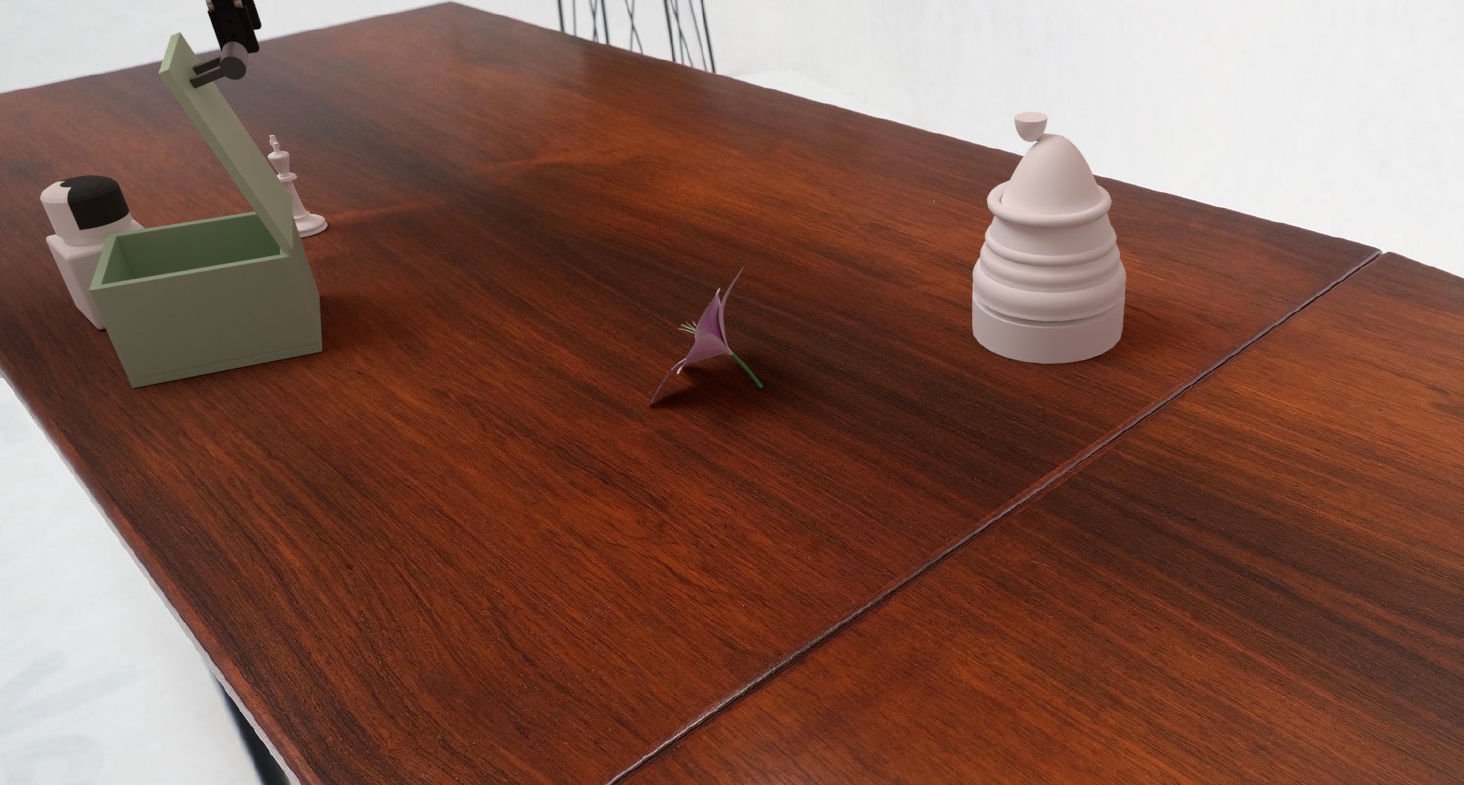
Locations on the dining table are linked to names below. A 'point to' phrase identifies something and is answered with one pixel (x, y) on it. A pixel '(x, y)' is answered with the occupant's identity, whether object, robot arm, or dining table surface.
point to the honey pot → (1048, 258)
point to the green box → (205, 298)
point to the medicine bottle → (84, 231)
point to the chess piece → (294, 193)
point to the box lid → (228, 129)
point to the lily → (710, 337)
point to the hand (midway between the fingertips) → (243, 41)
